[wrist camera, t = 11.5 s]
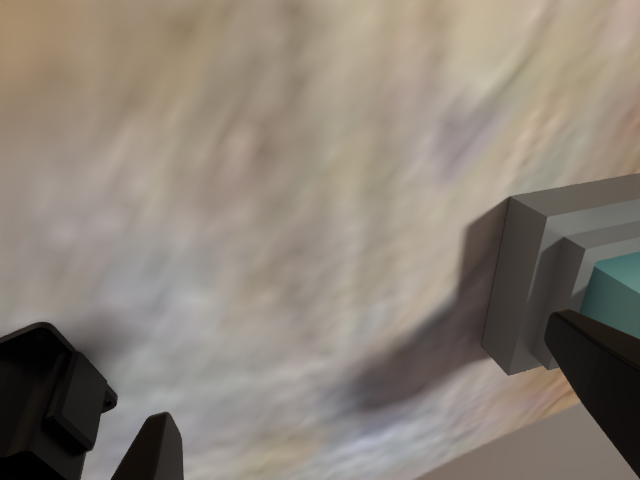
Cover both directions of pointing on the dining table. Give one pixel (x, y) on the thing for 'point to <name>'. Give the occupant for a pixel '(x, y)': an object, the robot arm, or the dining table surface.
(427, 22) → the dining table surface
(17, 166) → the dining table surface
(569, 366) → the robot arm
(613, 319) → the column brick
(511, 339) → the base brick
